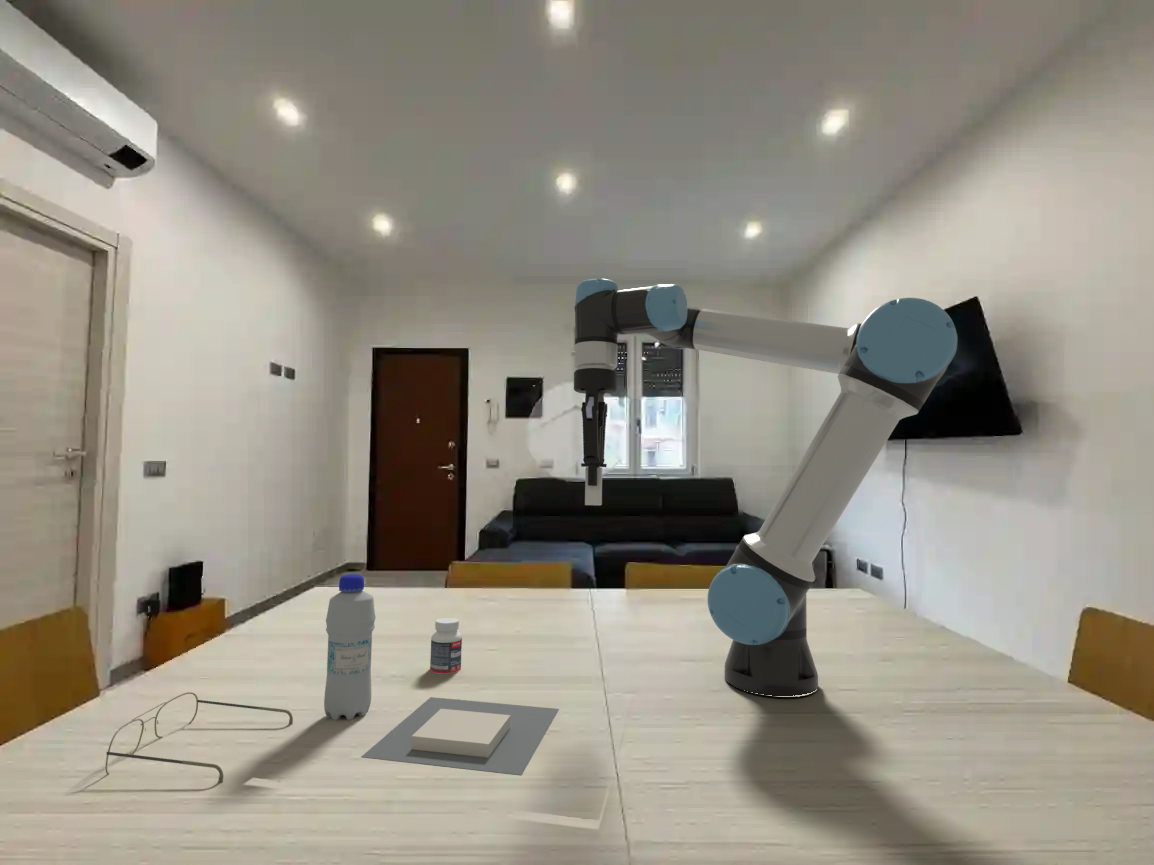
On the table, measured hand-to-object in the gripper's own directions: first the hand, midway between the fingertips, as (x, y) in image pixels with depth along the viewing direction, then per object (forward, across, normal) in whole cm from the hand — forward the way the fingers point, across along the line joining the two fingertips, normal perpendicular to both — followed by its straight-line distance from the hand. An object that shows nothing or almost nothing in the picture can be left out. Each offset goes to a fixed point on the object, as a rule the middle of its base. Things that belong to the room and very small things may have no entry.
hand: (593, 504), depth 108 cm
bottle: (+30, +24, -31) cm, 49 cm away
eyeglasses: (+30, +37, -43) cm, 64 cm away
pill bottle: (+30, +3, -25) cm, 39 cm away
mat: (+29, +26, -12) cm, 41 cm away
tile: (+28, +24, -12) cm, 39 cm away
